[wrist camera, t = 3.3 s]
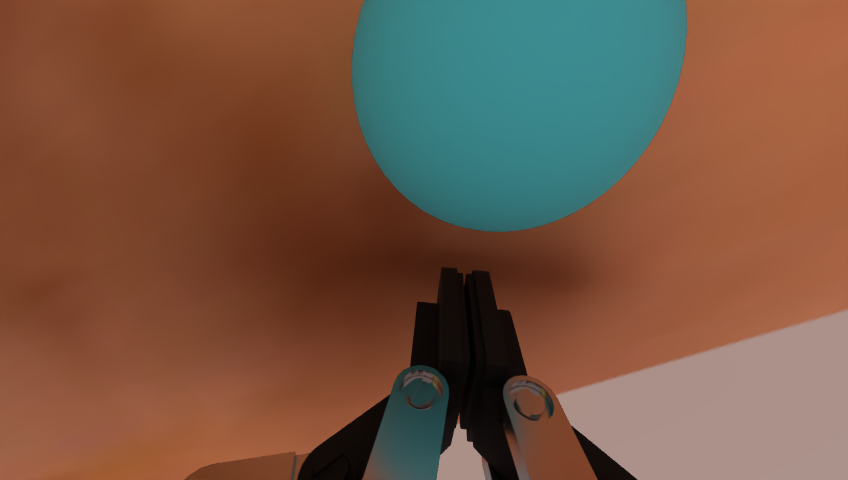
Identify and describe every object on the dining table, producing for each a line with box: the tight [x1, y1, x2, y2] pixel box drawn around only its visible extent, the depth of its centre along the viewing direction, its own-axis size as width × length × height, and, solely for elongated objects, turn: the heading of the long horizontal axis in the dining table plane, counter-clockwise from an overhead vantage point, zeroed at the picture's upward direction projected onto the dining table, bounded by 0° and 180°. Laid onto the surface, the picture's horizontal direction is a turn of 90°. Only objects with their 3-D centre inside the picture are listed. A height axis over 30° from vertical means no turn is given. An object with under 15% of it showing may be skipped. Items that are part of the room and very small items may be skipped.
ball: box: [352, 0, 687, 232], centre depth 6 cm, size 6×6×6 cm
